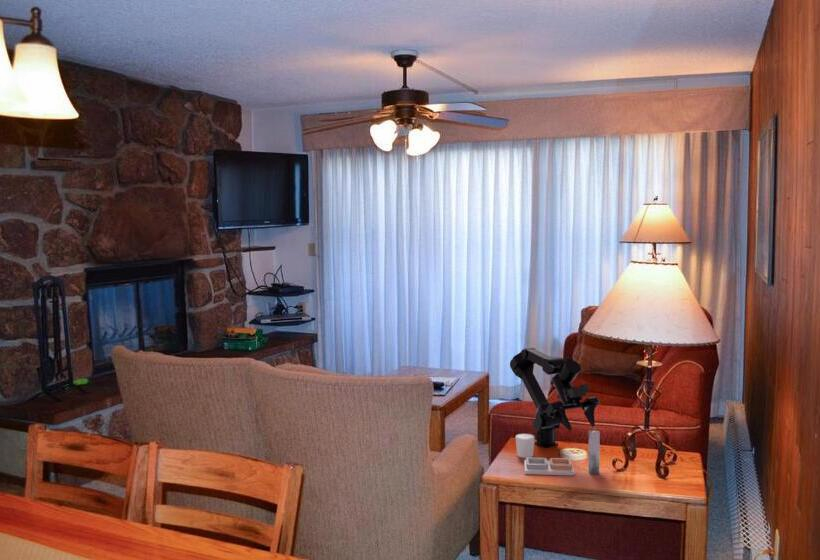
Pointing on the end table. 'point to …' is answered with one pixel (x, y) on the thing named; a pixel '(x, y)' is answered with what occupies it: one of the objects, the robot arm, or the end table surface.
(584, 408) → the robot arm
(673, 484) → the end table surface
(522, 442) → the white cup
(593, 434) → the steel pin
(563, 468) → the grey compartment tray
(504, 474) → the end table surface
